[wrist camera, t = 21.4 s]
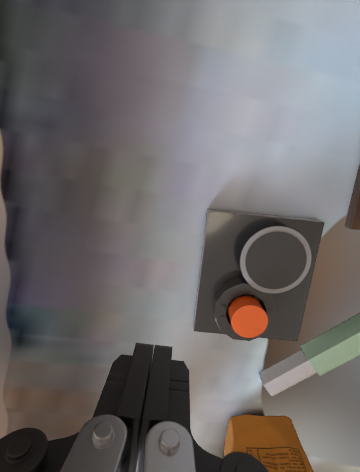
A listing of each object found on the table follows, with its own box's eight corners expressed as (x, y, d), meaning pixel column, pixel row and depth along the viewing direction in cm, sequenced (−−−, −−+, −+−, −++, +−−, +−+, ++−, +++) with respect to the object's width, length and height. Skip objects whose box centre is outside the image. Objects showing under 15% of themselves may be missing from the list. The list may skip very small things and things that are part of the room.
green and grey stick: (273, 400, 33) (262, 385, 33) (267, 384, 36) (256, 369, 35) (455, 304, 30) (445, 285, 29) (434, 293, 32) (425, 276, 32)
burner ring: (245, 222, 27) (246, 223, 27) (317, 229, 27) (318, 230, 27) (235, 289, 29) (235, 290, 29) (303, 296, 29) (303, 297, 29)
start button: (230, 293, 29) (234, 303, 27) (265, 297, 30) (271, 307, 27) (226, 324, 30) (229, 336, 28) (259, 327, 30) (264, 339, 28)
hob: (207, 208, 31) (210, 213, 27) (317, 219, 31) (334, 226, 27) (193, 324, 34) (194, 341, 30) (292, 333, 34) (304, 352, 31)
